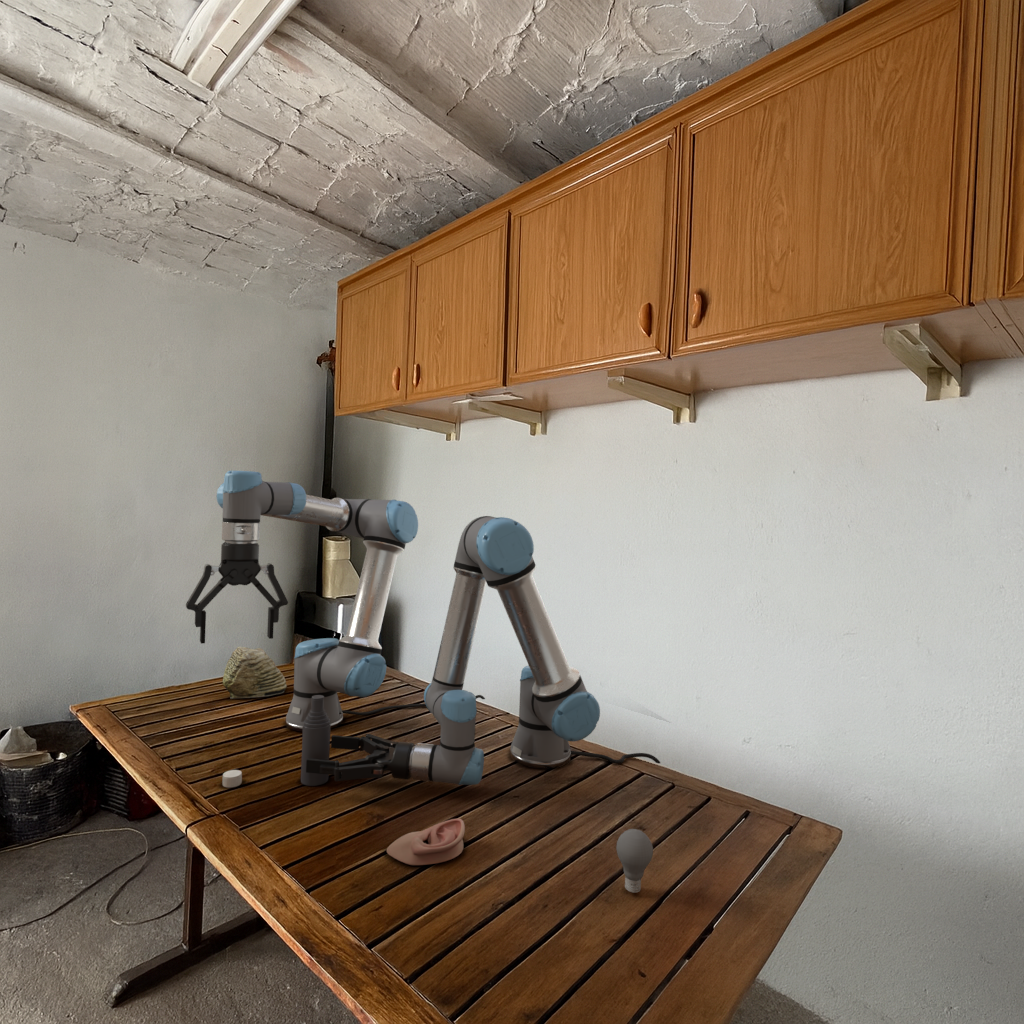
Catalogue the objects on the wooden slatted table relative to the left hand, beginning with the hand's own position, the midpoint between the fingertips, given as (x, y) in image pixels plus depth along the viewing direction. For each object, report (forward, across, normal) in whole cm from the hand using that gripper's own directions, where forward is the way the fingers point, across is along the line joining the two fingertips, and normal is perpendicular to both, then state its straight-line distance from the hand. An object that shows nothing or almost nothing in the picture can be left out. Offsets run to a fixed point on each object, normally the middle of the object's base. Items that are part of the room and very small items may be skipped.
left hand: (237, 639), depth 137 cm
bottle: (+31, +16, -6) cm, 36 cm away
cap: (+30, 0, 0) cm, 30 cm away
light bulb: (+31, +53, -69) cm, 93 cm away
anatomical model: (+31, +28, -43) cm, 60 cm away
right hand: (+25, +17, -6) cm, 31 cm away
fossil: (+31, +14, +62) cm, 71 cm away
